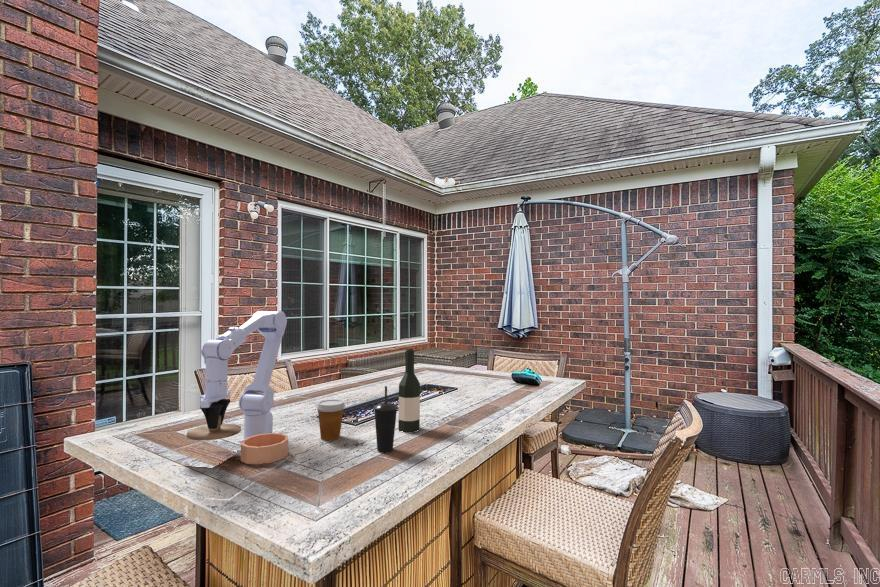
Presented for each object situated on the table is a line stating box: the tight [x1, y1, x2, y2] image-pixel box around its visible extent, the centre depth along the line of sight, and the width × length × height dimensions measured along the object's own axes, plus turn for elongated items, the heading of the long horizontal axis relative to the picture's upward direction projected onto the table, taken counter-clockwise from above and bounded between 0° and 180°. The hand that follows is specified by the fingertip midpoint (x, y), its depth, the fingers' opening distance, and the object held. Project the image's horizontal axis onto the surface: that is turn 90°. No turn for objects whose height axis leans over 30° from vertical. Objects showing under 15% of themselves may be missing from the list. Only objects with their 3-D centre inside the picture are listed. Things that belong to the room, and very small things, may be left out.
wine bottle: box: [397, 347, 421, 433], centre depth 147 cm, size 8×8×30 cm
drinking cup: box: [373, 385, 399, 454], centre depth 125 cm, size 8×8×20 cm
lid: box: [186, 415, 242, 441], centre depth 117 cm, size 14×14×5 cm
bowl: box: [240, 432, 289, 465], centre depth 118 cm, size 13×13×5 cm
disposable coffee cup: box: [316, 399, 346, 441], centre depth 137 cm, size 10×10×12 cm
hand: (215, 426), depth 117 cm, fingers closed on lid, 3 cm apart
